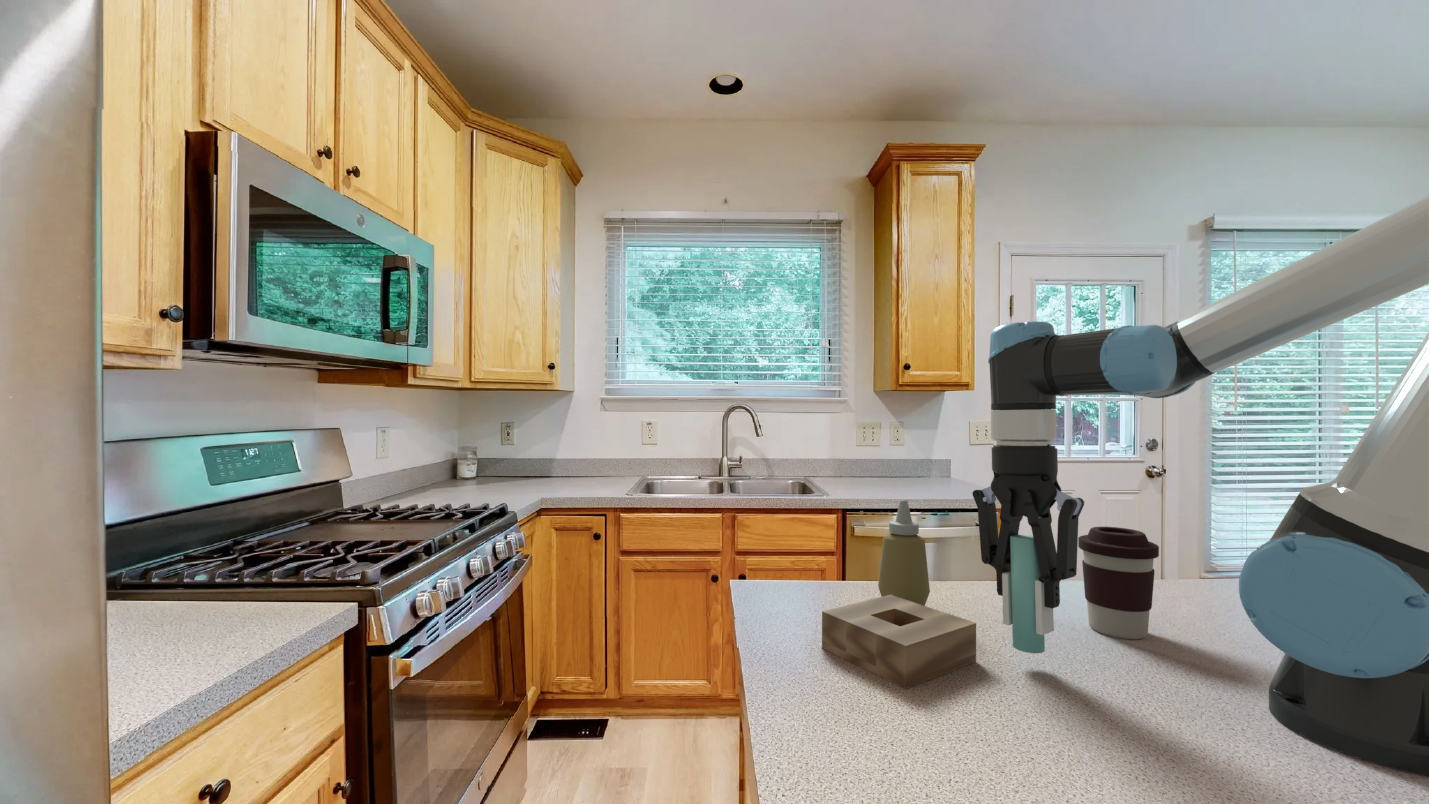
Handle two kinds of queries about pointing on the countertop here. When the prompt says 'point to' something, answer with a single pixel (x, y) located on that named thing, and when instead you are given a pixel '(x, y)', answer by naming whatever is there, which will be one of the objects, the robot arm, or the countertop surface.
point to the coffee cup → (1118, 580)
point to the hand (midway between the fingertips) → (1028, 626)
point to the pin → (1024, 594)
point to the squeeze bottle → (904, 560)
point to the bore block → (899, 639)
